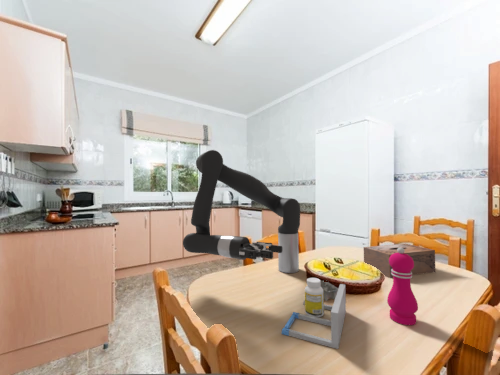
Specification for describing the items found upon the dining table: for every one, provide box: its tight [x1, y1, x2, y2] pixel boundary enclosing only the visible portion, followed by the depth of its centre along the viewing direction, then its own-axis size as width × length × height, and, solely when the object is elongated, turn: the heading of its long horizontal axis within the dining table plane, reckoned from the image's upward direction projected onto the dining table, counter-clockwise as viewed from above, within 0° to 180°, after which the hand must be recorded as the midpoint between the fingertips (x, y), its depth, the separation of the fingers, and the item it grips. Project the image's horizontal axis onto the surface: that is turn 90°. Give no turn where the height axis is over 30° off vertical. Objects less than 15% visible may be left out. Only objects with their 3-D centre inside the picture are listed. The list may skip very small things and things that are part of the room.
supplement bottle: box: [304, 277, 325, 318], centre depth 70 cm, size 5×5×10 cm
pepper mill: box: [386, 247, 419, 326], centre depth 66 cm, size 7×7×20 cm
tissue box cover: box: [363, 243, 436, 279], centre depth 109 cm, size 26×14×10 cm, turn 106°
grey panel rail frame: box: [281, 283, 347, 350], centre depth 65 cm, size 19×14×8 cm
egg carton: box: [320, 280, 339, 302], centre depth 84 cm, size 11×8×4 cm
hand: (277, 252), depth 75 cm, fingers open, 8 cm apart
